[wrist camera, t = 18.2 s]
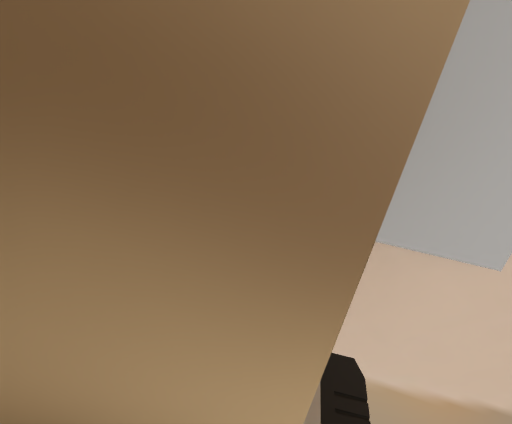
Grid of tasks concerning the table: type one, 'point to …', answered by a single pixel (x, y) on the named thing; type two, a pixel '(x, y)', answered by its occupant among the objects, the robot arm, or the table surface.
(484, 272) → the table surface
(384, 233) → the mat
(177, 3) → the plug
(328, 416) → the robot arm
